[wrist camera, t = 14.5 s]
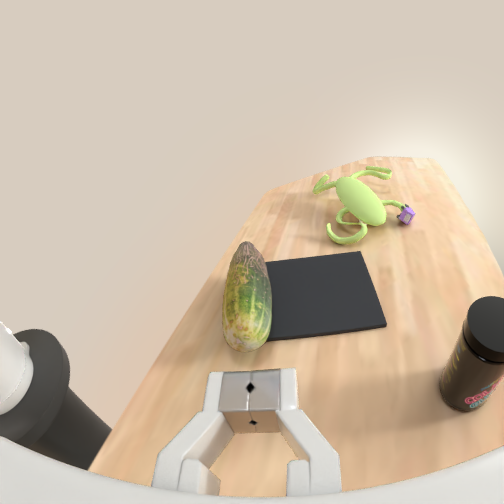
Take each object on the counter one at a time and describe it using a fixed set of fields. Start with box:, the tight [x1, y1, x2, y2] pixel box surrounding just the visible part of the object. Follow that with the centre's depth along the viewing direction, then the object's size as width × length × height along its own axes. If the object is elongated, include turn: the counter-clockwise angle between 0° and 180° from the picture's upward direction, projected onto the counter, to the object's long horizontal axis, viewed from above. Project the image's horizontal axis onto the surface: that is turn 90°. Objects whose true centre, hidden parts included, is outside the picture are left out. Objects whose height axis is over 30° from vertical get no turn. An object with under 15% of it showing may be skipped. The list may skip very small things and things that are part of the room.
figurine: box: [313, 166, 415, 244], centre depth 59 cm, size 18×27×6 cm
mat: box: [227, 251, 387, 344], centre depth 43 cm, size 20×16×1 cm
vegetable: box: [222, 242, 272, 352], centre depth 41 cm, size 6×6×20 cm
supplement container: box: [440, 296, 504, 411], centre depth 23 cm, size 7×7×10 cm
